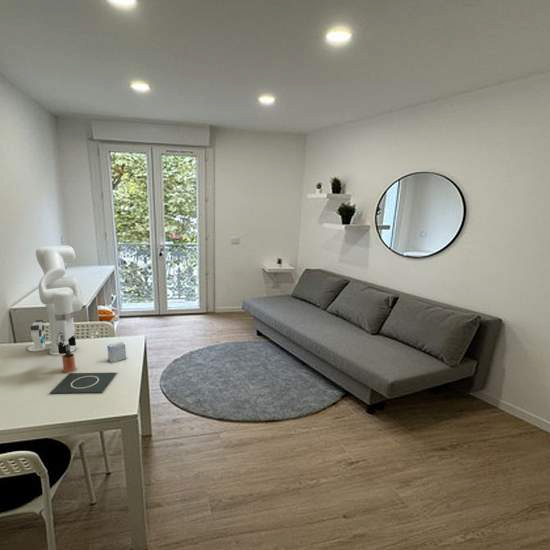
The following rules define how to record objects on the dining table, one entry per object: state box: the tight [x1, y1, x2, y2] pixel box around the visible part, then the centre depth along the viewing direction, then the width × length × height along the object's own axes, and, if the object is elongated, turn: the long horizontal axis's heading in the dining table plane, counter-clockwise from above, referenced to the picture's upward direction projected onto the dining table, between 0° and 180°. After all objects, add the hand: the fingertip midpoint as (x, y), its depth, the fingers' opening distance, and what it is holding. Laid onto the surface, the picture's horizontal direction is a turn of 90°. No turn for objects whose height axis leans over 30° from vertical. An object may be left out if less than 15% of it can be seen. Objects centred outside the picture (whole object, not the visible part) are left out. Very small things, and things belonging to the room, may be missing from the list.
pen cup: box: [61, 353, 76, 373], centre depth 176 cm, size 5×5×8 cm
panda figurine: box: [27, 319, 51, 352], centre depth 201 cm, size 12×11×15 cm
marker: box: [64, 344, 72, 358], centre depth 175 cm, size 2×2×13 cm
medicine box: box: [106, 341, 127, 363], centre depth 189 cm, size 8×4×9 cm, turn 134°
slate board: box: [49, 372, 117, 395], centre depth 165 cm, size 22×18×1 cm
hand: (67, 349), depth 174 cm, fingers open, 9 cm apart
